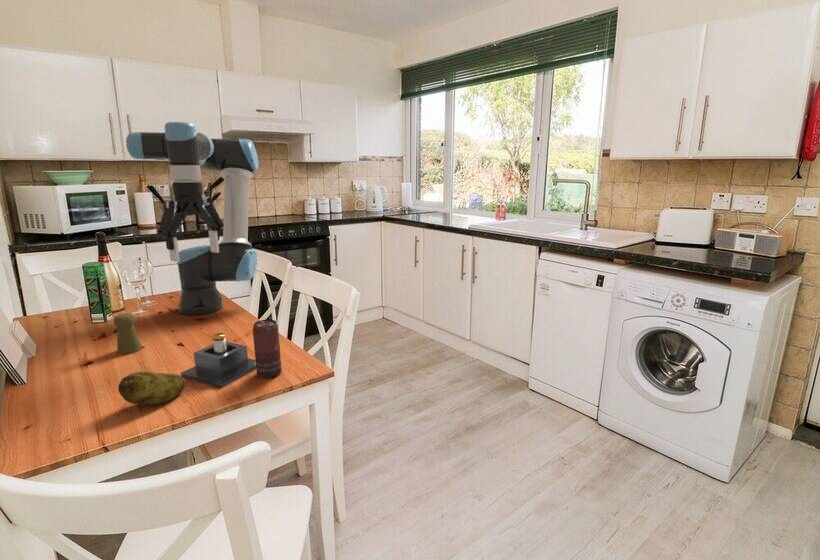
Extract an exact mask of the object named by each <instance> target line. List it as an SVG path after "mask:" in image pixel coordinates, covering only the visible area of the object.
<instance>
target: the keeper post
mask: <svg viewBox="0 0 820 560" xmlns="http://www.w3.org/2000/svg"><path fill="white" fill-rule="evenodd" d="M212 342H213V343H212V345H213V344H214V352H215V355H218V356H221V355H223V354H225V353H227V346H226V342H227V339H226V333H224V332H217V333H214V334H213V335H212ZM254 369H255V370H256V359H252V358H249V357H248V364H247V365H245V366H243V367H241V368H239V369H237V370H235V371H233V372H231V373H230V374H228V375H226V376H224V377H222V378H220V377H217V376H213V375H210V374H206V373H202V372H199V371H196V367H195V365H194V366H192V367H190V368H188V369H186V370H185V371H182V372H180V376H182V377H183V378H185V379H188V380H192V381H194V382H199V383H203V384H205V385H209V386H212V387H216V388H219V389H222V388H224V387H226V386H228V385H229V384H232V383H233V382H235V381H237V380H239V379H240V378H243V377H244V376H246V375H247V373H248V374H249V373H251V372H252V371H254ZM245 374H246V375H245Z"/></svg>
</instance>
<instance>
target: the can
mask: <svg viewBox="0 0 820 560" xmlns="http://www.w3.org/2000/svg"><path fill="white" fill-rule="evenodd" d="M252 335H253V337H252V338H253V346H254V348H253V349H254V357H255V358H254V360H256V369H255V371H256V375H257V376H258V377H259V378H260V377H262V378H261V379H272V378H271V377H273V378H276V377H278V376H279V375H280V374H281V372H282V361H281V360H282V358H281V348H280V347H281V345H280V344H281V343H280V332H279V324H278V322H277V321H276V320H274V319H261V320H260V319H259V320H257V321H256V322H254V323H253V326H252ZM277 375H278V376H277ZM275 376H276V377H275Z"/></svg>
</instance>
